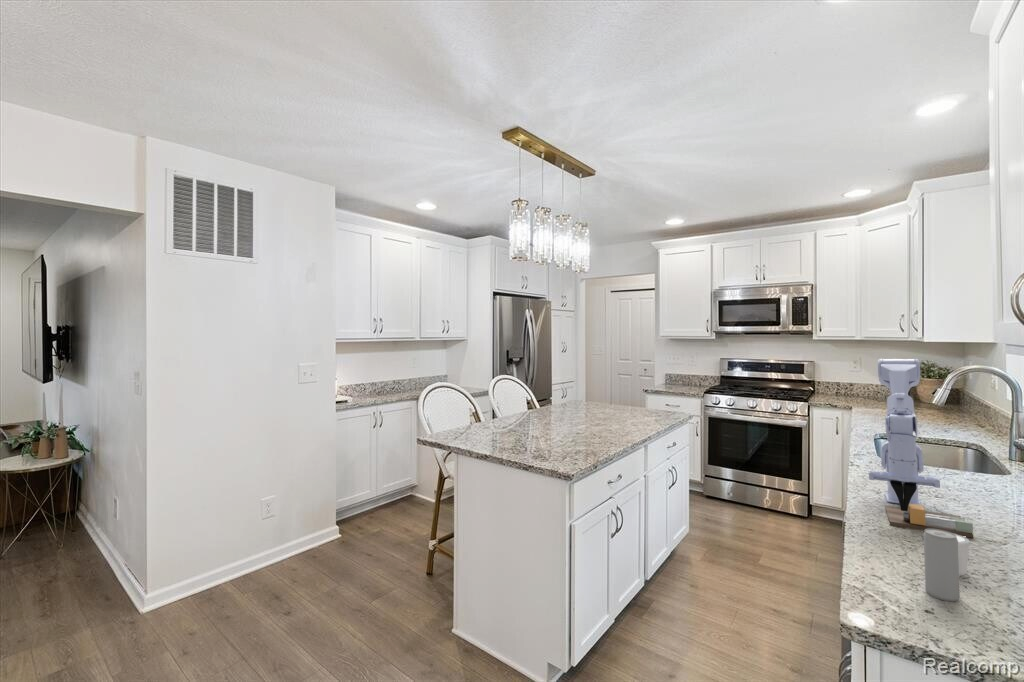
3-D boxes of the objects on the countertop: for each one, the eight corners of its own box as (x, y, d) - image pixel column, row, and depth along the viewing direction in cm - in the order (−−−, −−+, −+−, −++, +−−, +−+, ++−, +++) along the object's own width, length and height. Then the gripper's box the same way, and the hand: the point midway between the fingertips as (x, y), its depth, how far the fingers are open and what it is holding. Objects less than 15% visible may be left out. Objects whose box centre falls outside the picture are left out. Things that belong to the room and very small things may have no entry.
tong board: (885, 508, 135) (884, 497, 135) (960, 519, 126) (960, 507, 126) (889, 525, 123) (889, 512, 123) (973, 538, 113) (973, 524, 114)
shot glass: (928, 558, 103) (927, 527, 104) (971, 568, 99) (969, 535, 99) (925, 569, 99) (924, 536, 99) (970, 580, 94) (969, 545, 94)
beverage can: (966, 603, 85) (964, 539, 85) (936, 601, 86) (934, 537, 86) (948, 590, 90) (945, 529, 90) (919, 588, 91) (917, 527, 91)
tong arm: (912, 519, 123) (912, 511, 123) (963, 525, 118) (963, 518, 118) (913, 520, 122) (913, 513, 122) (965, 527, 117) (964, 519, 117)
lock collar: (908, 517, 124) (907, 503, 124) (923, 520, 122) (922, 505, 123) (910, 523, 121) (909, 508, 121) (925, 525, 119) (925, 510, 119)
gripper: (868, 458, 124) (870, 509, 124) (941, 465, 116) (943, 520, 116) (867, 453, 130) (869, 501, 130) (936, 460, 122) (938, 511, 121)
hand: (903, 509), depth 123 cm, fingers closed
